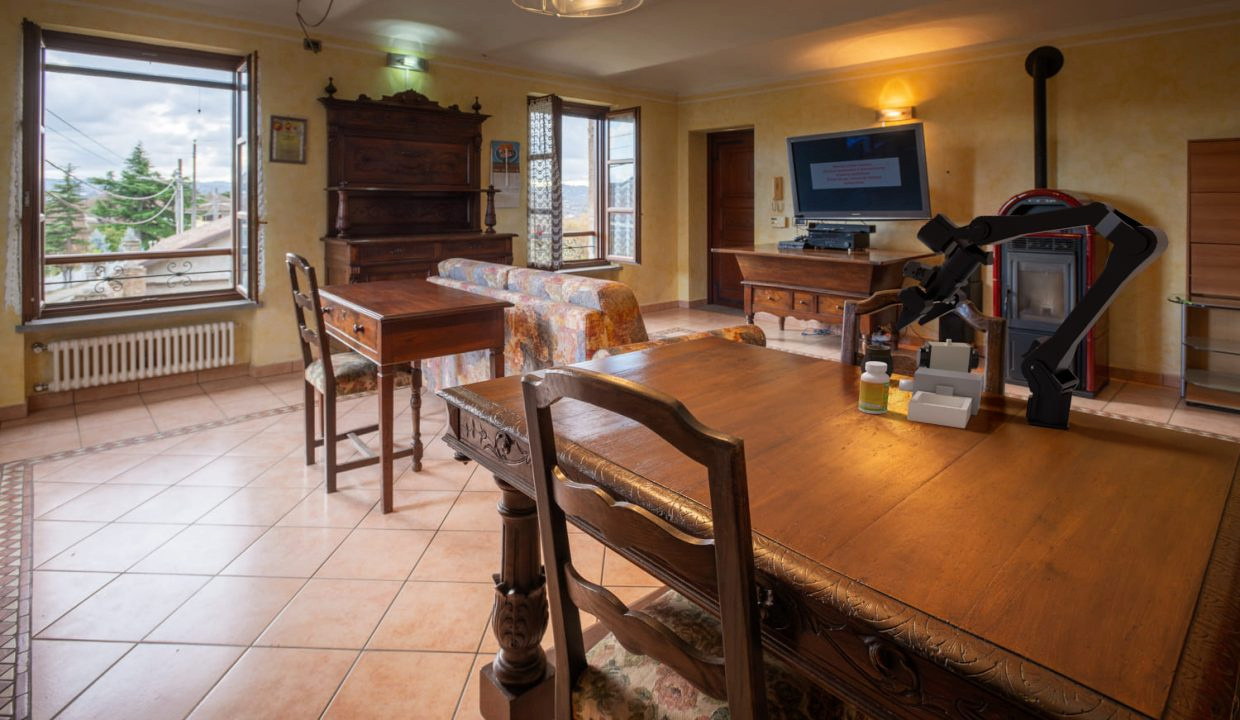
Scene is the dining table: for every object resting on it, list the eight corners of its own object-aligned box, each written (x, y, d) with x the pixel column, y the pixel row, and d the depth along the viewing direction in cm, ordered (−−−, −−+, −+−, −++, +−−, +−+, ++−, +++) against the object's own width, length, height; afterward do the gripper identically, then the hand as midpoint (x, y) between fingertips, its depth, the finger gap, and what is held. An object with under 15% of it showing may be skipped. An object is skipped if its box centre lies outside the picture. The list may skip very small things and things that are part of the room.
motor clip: (979, 408, 142) (983, 374, 141) (970, 429, 128) (974, 392, 127) (901, 397, 150) (904, 365, 148) (885, 416, 136) (888, 381, 135)
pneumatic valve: (975, 397, 150) (981, 342, 148) (917, 394, 153) (922, 340, 150) (968, 391, 156) (974, 337, 153) (912, 387, 158) (917, 335, 156)
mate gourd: (887, 376, 169) (890, 336, 167) (897, 384, 161) (900, 341, 159) (856, 376, 169) (859, 335, 167) (865, 384, 162) (868, 341, 160)
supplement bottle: (886, 415, 137) (890, 367, 135) (857, 412, 139) (861, 365, 137) (887, 408, 142) (891, 361, 140) (859, 405, 144) (862, 359, 142)
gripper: (948, 244, 152) (904, 299, 161) (902, 246, 140) (858, 306, 150) (988, 276, 146) (940, 331, 156) (944, 282, 135) (896, 341, 144)
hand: (908, 326), depth 151 cm, fingers open, 9 cm apart
